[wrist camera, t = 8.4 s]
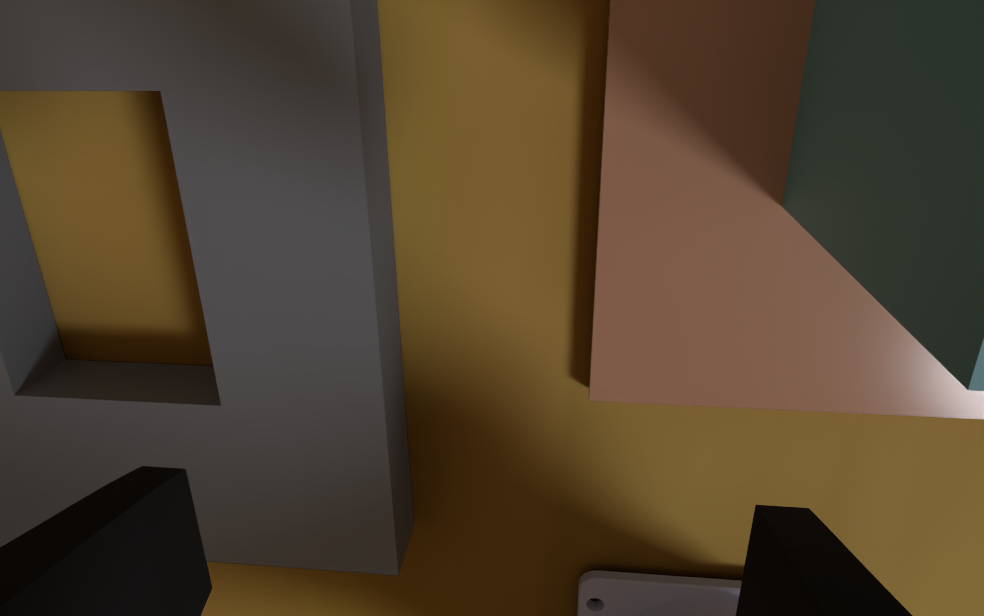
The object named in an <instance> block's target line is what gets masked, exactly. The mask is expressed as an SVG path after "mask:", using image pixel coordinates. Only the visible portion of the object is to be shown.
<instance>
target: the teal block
mask: <svg viewBox="0 0 984 616" xmlns="http://www.w3.org/2000/svg"><path fill="white" fill-rule="evenodd" d="M782 207H783V208H784V209H785V210H786V211H787V212H788V213H789V214H790V215H791V216H792V217H793V218H794V219H795V220H796V221H797V222H798V223H799V224H800V225H801V226H802V227H803V228H804V229H805V230H806V231H807V232H808V233H809V234H810V235H811V236H812V237H813V238H814V239H815V240H816V241H817V242H818V243H819V244H820V245H821V246H822V247H823V248H824V249H825V250H826V251H827V252H828V253H829V254H830V255H831V256H832V257H833V258H834V259H835V260H836V261H837V262H838V263H839V264H840V265H841V266H842V267H843V268H844V269H845V270H846V271H847V272H848V273H849V274H851V275H852V276H853V277H854V278H855V279H856V280H857V281H858V282H859V283H860V284H861V285H862V286H863V287H864V288H865V289H866V290H867V291H868V292H869V293H870V294H871V295H872V296H873V297H874V298H875V299H876V300H877V301H878V302H879V303H880V304H881V305H882V306H883V307H884V308H885V309H886V310H887V311H888V312H889V313H890V314H891V315H892V316H893V317H894V318H895V319H896V320H897V321H898V322H899V323H900V324H901V325H902V326H903V327H904V328H905V329H906V330H907V331H908V332H909V333H910V334H911V335H912V336H913V337H914V338H915V339H916V340H917V341H918V342H919V343H920V344H921V345H922V346H923V347H924V348H925V349H926V350H927V351H929V352H930V353H931V354H932V355H933V356H934V357H935V358H936V359H937V360H938V361H939V362H940V363H941V364H942V365H943V366H944V367H945V368H946V369H947V370H948V371H949V372H950V373H951V374H952V375H953V376H954V377H955V378H956V379H957V380H958V381H959V382H960V383H961V384H962V385H963V386H964V387H965V388H966V389H967V390H972V391H984V0H815V4H814V10H813V16H812V23H811V29H810V35H809V41H808V47H807V54H806V60H805V66H804V72H803V78H802V85H801V91H800V97H799V103H798V109H797V116H796V122H795V128H794V134H793V140H792V147H791V153H790V159H789V165H788V171H787V178H786V184H785V190H784V196H783V202H782Z"/></svg>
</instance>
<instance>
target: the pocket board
mask: <svg viewBox="0 0 984 616" xmlns="http://www.w3.org/2000/svg"><path fill="white" fill-rule="evenodd" d="M0 91H160V92H161V97H162V102H163V108H164V113H165V118H166V123H167V128H168V133H169V139H170V144H171V149H172V154H173V159H174V165H175V170H176V175H177V180H178V185H179V190H180V196H181V201H182V206H183V211H184V216H185V221H186V227H187V232H188V237H189V242H190V247H191V252H192V258H193V263H194V268H195V273H196V278H197V284H198V289H199V294H200V299H201V304H202V309H203V315H204V320H205V325H206V330H207V335H208V340H209V346H210V351H211V356H212V361H213V366H203V365H180V364H157V363H135V362H112V361H89V360H66V358H65V355H64V351H63V348H62V344H61V341H60V337H59V334H58V331H57V327H56V324H55V320H54V317H53V313H52V310H51V306H50V303H49V299H48V296H47V292H46V289H45V285H44V282H43V279H42V275H41V272H40V268H39V265H38V261H37V258H36V254H35V251H34V247H33V244H32V240H31V237H30V233H29V230H28V227H27V223H26V220H25V216H24V213H23V209H22V206H21V202H20V199H19V195H18V192H17V188H16V185H15V181H14V178H13V175H12V171H11V168H10V164H9V161H8V157H7V154H6V150H5V147H4V143H3V140H2V136H1V133H0V546H3V545H5V544H7V543H8V542H10V541H12V540H13V539H15V538H17V537H19V536H20V535H22V534H24V533H25V532H27V531H29V530H30V529H32V528H34V527H35V526H37V525H39V524H41V523H42V522H44V521H46V520H47V519H49V518H51V517H52V516H54V515H56V514H57V513H59V512H61V511H62V510H64V509H66V508H67V507H69V506H71V505H73V504H74V503H76V502H78V501H79V500H81V499H83V498H84V497H86V496H88V495H90V494H91V493H93V492H95V491H96V490H98V489H100V488H102V487H103V486H105V485H107V484H109V483H111V482H112V481H114V480H116V479H118V478H120V477H121V476H123V475H125V474H127V473H129V472H131V471H133V470H135V469H137V468H139V467H141V466H150V467H166V468H182V469H186V472H187V476H188V481H189V485H190V490H191V494H192V499H193V503H194V508H195V512H196V517H197V521H198V526H199V530H200V535H201V539H202V544H203V548H204V553H205V557H206V561H207V562H220V563H234V564H247V565H261V566H275V567H288V568H302V569H315V570H329V571H342V572H356V573H370V574H383V575H397V576H398V575H399V572H400V569H401V566H402V562H403V559H404V556H405V552H406V549H407V546H408V543H409V539H410V536H411V533H412V529H413V526H414V525H413V510H412V496H411V482H410V467H409V453H408V439H407V424H406V410H405V396H404V381H403V367H402V353H401V338H400V324H399V310H398V295H397V281H396V267H395V252H394V238H393V224H392V209H391V195H390V181H389V167H388V152H387V138H386V124H385V109H384V95H383V81H382V66H381V52H380V38H379V23H378V9H377V0H0Z"/></svg>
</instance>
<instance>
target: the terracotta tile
mask: <svg viewBox="0 0 984 616" xmlns="http://www.w3.org/2000/svg"><path fill="white" fill-rule="evenodd" d="M814 4H815V0H609V12H608V31H607V50H606V69H605V88H604V107H603V126H602V145H601V164H600V183H599V202H598V221H597V240H596V259H595V278H594V297H593V316H592V335H591V354H590V373H589V401H603V402H624V403H646V404H667V405H689V406H710V407H732V408H753V409H775V410H796V411H818V412H839V413H861V414H882V415H904V416H925V417H946V418H968V419H984V391H972V390H967V389H966V388H965V387H964V386H963V385H962V384H961V383H960V382H959V381H958V380H957V379H956V378H955V377H954V376H953V375H952V374H951V373H950V372H949V371H948V370H947V369H946V368H945V367H944V366H943V365H942V364H941V363H940V362H939V361H938V360H937V359H936V358H935V357H934V356H933V355H932V354H931V353H930V352H929V351H927V350H926V349H925V348H924V347H923V346H922V345H921V344H920V343H919V342H918V341H917V340H916V339H915V338H914V337H913V336H912V335H911V334H910V333H909V332H908V331H907V330H906V329H905V328H904V327H903V326H902V325H901V324H900V323H899V322H898V321H897V320H896V319H895V318H894V317H893V316H892V315H891V314H890V313H889V312H888V311H887V310H886V309H885V308H884V307H883V306H882V305H881V304H880V303H879V302H878V301H877V300H876V299H875V298H874V297H873V296H872V295H871V294H870V293H869V292H868V291H867V290H866V289H865V288H864V287H863V286H862V285H861V284H860V283H859V282H858V281H857V280H856V279H855V278H854V277H853V276H852V275H851V274H849V273H848V272H847V271H846V270H845V269H844V268H843V267H842V266H841V265H840V264H839V263H838V262H837V261H836V260H835V259H834V258H833V257H832V256H831V255H830V254H829V253H828V252H827V251H826V250H825V249H824V248H823V247H822V246H821V245H820V244H819V243H818V242H817V241H816V240H815V239H814V238H813V237H812V236H811V235H810V234H809V233H808V232H807V231H806V230H805V229H804V228H803V227H802V226H801V225H800V224H799V223H798V222H797V221H796V220H795V219H794V218H793V217H792V216H791V215H790V214H789V213H788V212H787V211H786V210H785V209H784V208H783V207H782V202H783V196H784V190H785V184H786V178H787V171H788V165H789V159H790V153H791V147H792V140H793V134H794V128H795V122H796V116H797V109H798V103H799V97H800V91H801V85H802V78H803V72H804V66H805V60H806V54H807V47H808V41H809V35H810V29H811V23H812V16H813V10H814Z"/></svg>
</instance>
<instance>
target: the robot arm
mask: <svg viewBox="0 0 984 616" xmlns="http://www.w3.org/2000/svg"><path fill="white" fill-rule="evenodd" d="M211 590H212V584H211V580H210V575H209V571H208V566H207V562H206V557H205V553H204V548H203V544H202V539H201V535H200V530H199V526H198V521H197V517H196V512H195V508H194V503H193V499H192V494H191V490H190V485H189V481H188V476H187V472H186V469H182V468H166V467H150V466H141V467H139V468H137V469H135V470H133V471H131V472H129V473H127V474H125V475H123V476H121V477H120V478H118V479H116V480H114V481H112V482H111V483H109V484H107V485H105V486H103V487H102V488H100V489H98V490H96V491H95V492H93V493H91V494H90V495H88V496H86V497H84V498H83V499H81V500H79V501H78V502H76V503H74V504H73V505H71V506H69V507H67V508H66V509H64V510H62V511H61V512H59V513H57V514H56V515H54V516H52V517H51V518H49V519H47V520H46V521H44V522H42V523H41V524H39V525H37V526H35V527H34V528H32V529H30V530H29V531H27V532H25V533H24V534H22V535H20V536H19V537H17V538H15V539H13V540H12V541H10V542H8V543H7V544H5V545H3V546H2V547H0V616H201V613H202V611H203V609H204V606H205V604H206V601H207V599H208V597H209V594H210V592H211ZM593 598H597V599H600V600H599V601H592V600H590V599H593ZM577 616H912V615H911V614H910V613H909V612H908V611H907V610H906V609H905V608H904V607H903V606H902V605H901V604H900V603H899V602H898V601H897V600H896V599H895V598H894V596H893V595H892V594H891V593H890V592H889V591H888V590H887V589H886V588H885V587H884V586H883V585H882V584H881V583H880V582H879V581H878V580H877V579H876V578H875V577H874V576H873V575H872V574H871V573H870V572H869V571H868V570H867V568H866V567H865V566H864V565H863V564H862V563H861V562H860V561H859V560H858V559H857V558H856V557H855V556H854V555H853V554H852V553H851V552H850V551H849V550H848V549H847V547H846V546H845V545H844V544H843V543H842V542H841V541H840V540H839V539H838V538H837V537H836V536H835V535H834V534H833V533H832V532H831V531H830V530H829V529H828V527H827V526H826V525H825V524H824V523H823V522H822V521H821V520H820V519H819V518H818V517H817V516H816V515H815V514H814V513H813V512H812V511H811V510H810V509H809V508H797V507H781V506H765V505H756V506H755V512H754V517H753V523H752V528H751V534H750V539H749V545H748V550H747V556H746V561H745V567H744V572H743V578H742V581H739V580H725V579H711V578H697V577H682V576H668V575H654V574H640V573H626V572H612V571H598V570H596V571H589V572H586V573H584V574H583V575H582V576H581V577H580V580H579V589H578V608H577Z"/></svg>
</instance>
